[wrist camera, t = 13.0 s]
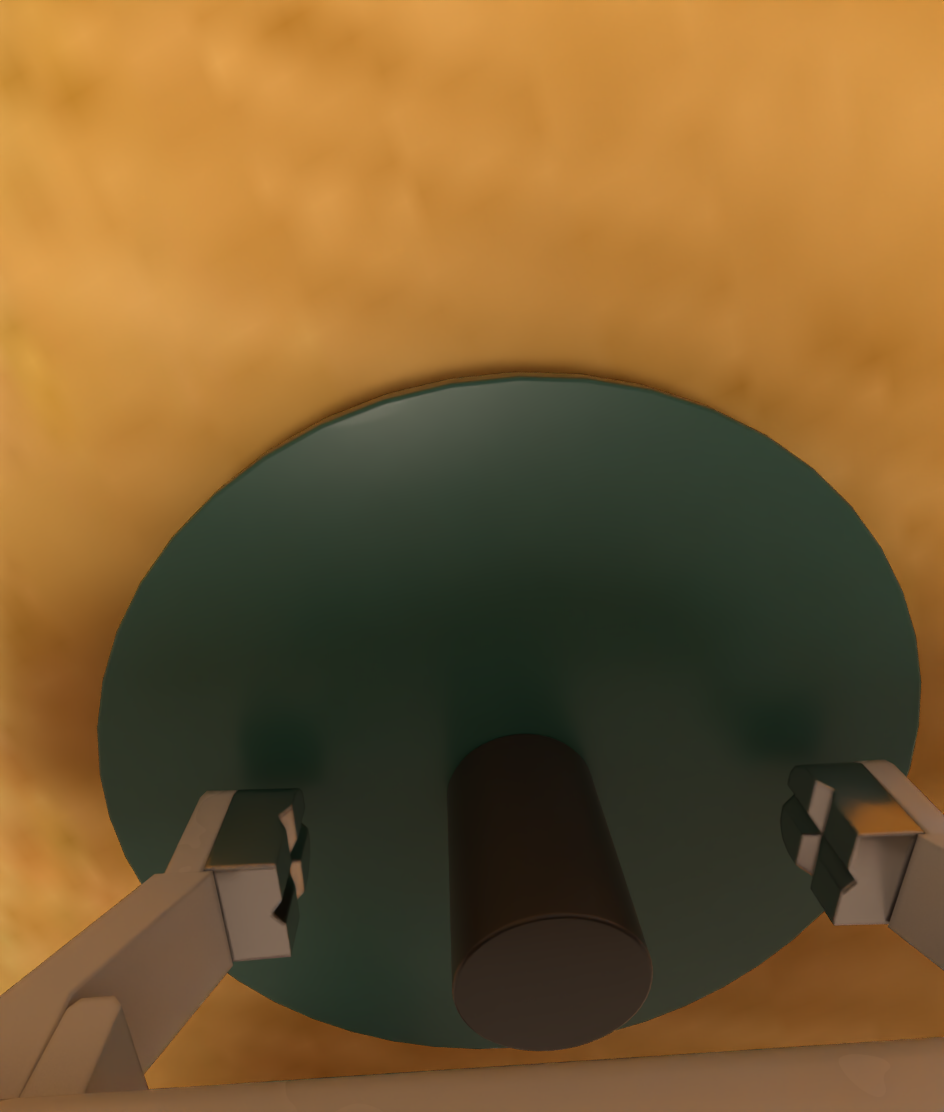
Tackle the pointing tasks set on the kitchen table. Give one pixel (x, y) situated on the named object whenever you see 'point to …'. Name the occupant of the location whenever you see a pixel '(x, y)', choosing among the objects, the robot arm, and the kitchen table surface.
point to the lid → (513, 699)
